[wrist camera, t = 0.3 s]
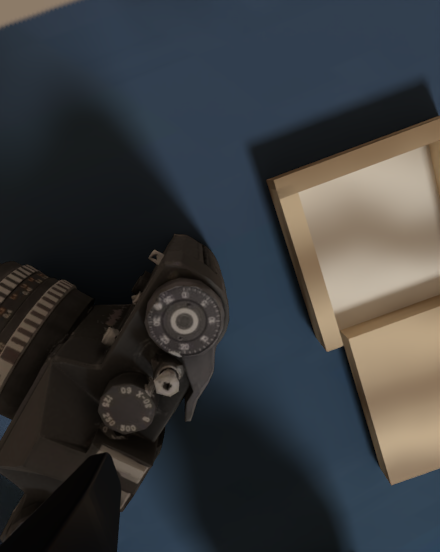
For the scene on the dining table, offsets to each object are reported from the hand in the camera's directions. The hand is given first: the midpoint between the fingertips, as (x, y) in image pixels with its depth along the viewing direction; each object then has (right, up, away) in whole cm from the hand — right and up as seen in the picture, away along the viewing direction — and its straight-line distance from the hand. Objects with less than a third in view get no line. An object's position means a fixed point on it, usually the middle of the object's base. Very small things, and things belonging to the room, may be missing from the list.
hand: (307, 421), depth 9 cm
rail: (+9, 0, +15) cm, 18 cm away
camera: (-9, +1, +14) cm, 17 cm away
